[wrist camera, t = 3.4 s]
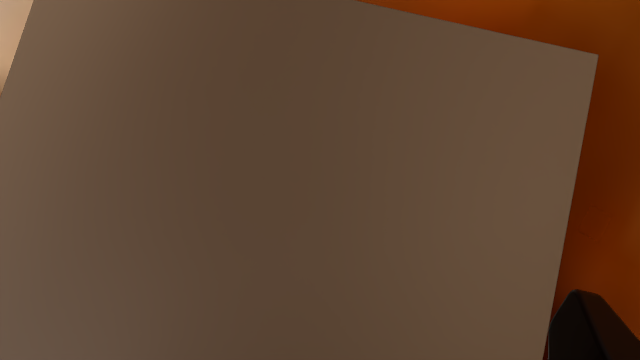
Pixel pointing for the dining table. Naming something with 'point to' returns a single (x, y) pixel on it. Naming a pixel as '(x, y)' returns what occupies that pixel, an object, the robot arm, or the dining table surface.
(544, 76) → the walnut block
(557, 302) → the dining table surface
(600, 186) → the dining table surface
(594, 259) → the dining table surface
